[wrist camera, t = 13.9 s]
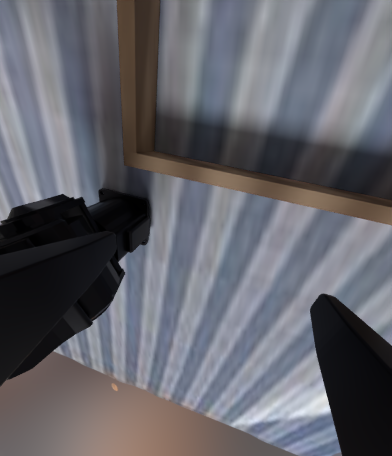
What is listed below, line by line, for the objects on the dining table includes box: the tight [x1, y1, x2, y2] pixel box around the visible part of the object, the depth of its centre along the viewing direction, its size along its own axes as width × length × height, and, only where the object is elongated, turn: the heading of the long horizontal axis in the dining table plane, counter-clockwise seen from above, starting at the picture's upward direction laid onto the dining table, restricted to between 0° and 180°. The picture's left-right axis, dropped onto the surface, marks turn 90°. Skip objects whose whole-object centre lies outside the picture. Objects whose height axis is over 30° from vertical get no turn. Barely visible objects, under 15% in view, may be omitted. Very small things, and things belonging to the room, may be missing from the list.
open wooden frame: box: [117, 0, 392, 225], centre depth 11 cm, size 25×17×4 cm
